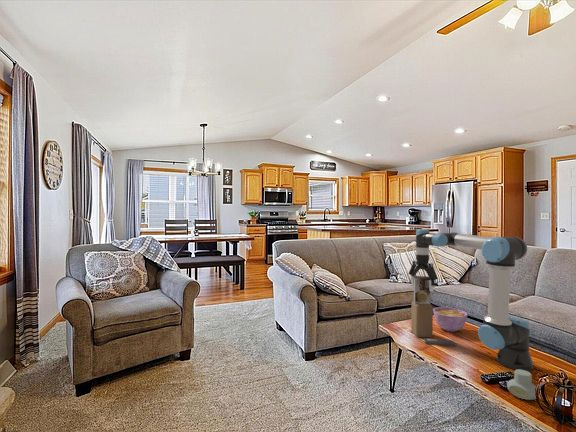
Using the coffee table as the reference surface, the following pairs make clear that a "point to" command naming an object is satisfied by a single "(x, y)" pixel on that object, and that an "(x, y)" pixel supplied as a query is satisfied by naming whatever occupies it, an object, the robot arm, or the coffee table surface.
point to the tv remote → (439, 342)
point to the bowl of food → (450, 318)
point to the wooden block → (422, 319)
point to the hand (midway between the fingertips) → (422, 288)
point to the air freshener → (522, 385)
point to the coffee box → (421, 290)
